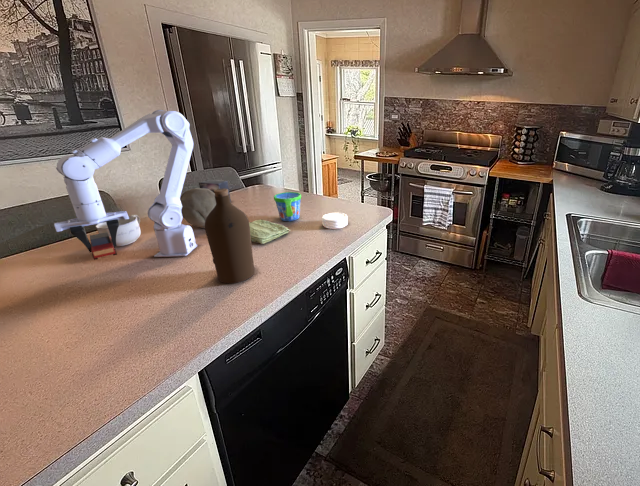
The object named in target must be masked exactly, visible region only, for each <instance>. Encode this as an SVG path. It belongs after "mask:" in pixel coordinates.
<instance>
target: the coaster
mask: <svg viewBox="0 0 640 486" xmlns="http://www.w3.org/2000/svg"><path fill="white" fill-rule="evenodd" d="M321 219H322V220H321V223H322V224H321V225H322V227H324V228H325V229H330V230H332V229H334V230H338V229H342V228H345V227H346V226H348V225H349V224H348V223H349V219H348V215H347V214H346V213H345V212H329V213H326V214H324V215H322V216H321Z"/></svg>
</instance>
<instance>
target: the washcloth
mask: <svg viewBox="0 0 640 486" xmlns="http://www.w3.org/2000/svg"><path fill="white" fill-rule="evenodd" d="M249 225H250V235H251V242H253V243H257V244H262V245H264V244H267V243H269V242H271V241H274V240H276V239H278V238H280V237H281V236H283V235H286V234H289V232H290V229H289V227H286V226H284V225H283V224H280V223H275V222H271V221H268V220H266V219H256V220H253V221H249Z"/></svg>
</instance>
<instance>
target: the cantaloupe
mask: <svg viewBox="0 0 640 486" xmlns="http://www.w3.org/2000/svg"><path fill="white" fill-rule="evenodd" d="M180 201H181V204H182V209H181V213H182V217H183V218H182V219H184V220H185V221H186V222H187V223H188V224H189V225H190V226H194V227H197V228H200V229H205V220H206V218H207V216H208V215H209V213H210V212H211V211H212V210H213V208H214V207H215V206H216V201H215V194H214V193H213V192H212V191H211V190H209V189H206V188H200V187H197V188H190V189H187V190H185V191H184V192H183V193H181V195H180Z"/></svg>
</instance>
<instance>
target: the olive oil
mask: <svg viewBox="0 0 640 486" xmlns="http://www.w3.org/2000/svg"><path fill="white" fill-rule="evenodd" d="M214 193H215V201H216V206H215V207H214V208H213V210H212V211H211V212H210V213H209V215H208V216H207V218H206V220H205V228H204V231H205V236H206V238H207V242H208V246H209V249H210V252H211V256H212V263H213V265H214V267H215V271H216V276H217V279H218V281H219V282H221V283H223V284H237V283H241V282H244V281H247V280H248V279H250V278H252V277H253V276H254V275H255V262H254V256H253V255H254V254H253V245H252V241H251V235H250V225H249V223H250V220H249V218H248V216H247V214H246V213H245V212H244V211H243V210H242V209H240V208H239V207H237V206H236V205H234V204H233V203H232V201H231V202H230V198H231V195H230V196H229V194H228V189H224V188H223V189H216V190H214Z"/></svg>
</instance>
